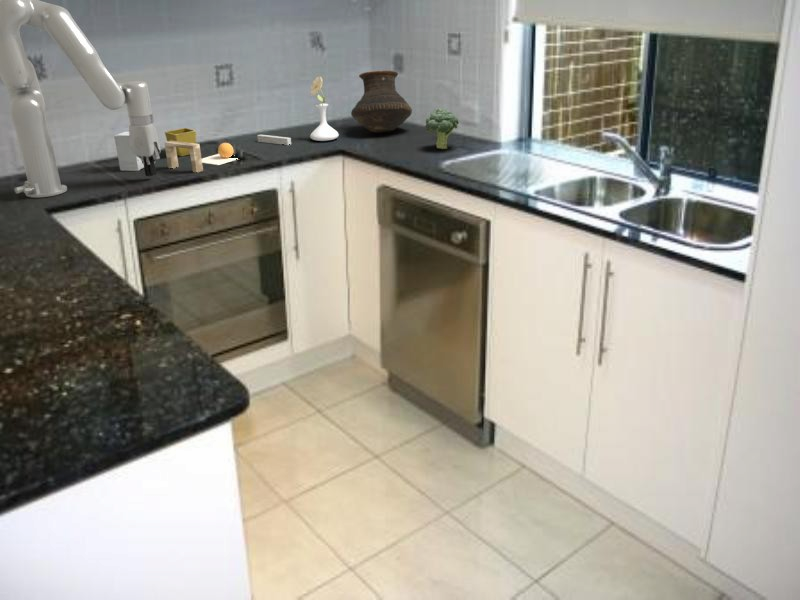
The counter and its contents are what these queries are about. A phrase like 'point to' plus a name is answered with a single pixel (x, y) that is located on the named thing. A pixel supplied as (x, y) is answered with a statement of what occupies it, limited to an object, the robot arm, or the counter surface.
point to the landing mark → (217, 160)
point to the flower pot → (182, 139)
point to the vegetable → (441, 125)
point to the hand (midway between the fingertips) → (150, 175)
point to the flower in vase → (322, 116)
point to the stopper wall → (274, 139)
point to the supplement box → (126, 154)
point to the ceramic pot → (380, 103)
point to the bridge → (194, 154)
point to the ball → (225, 150)
